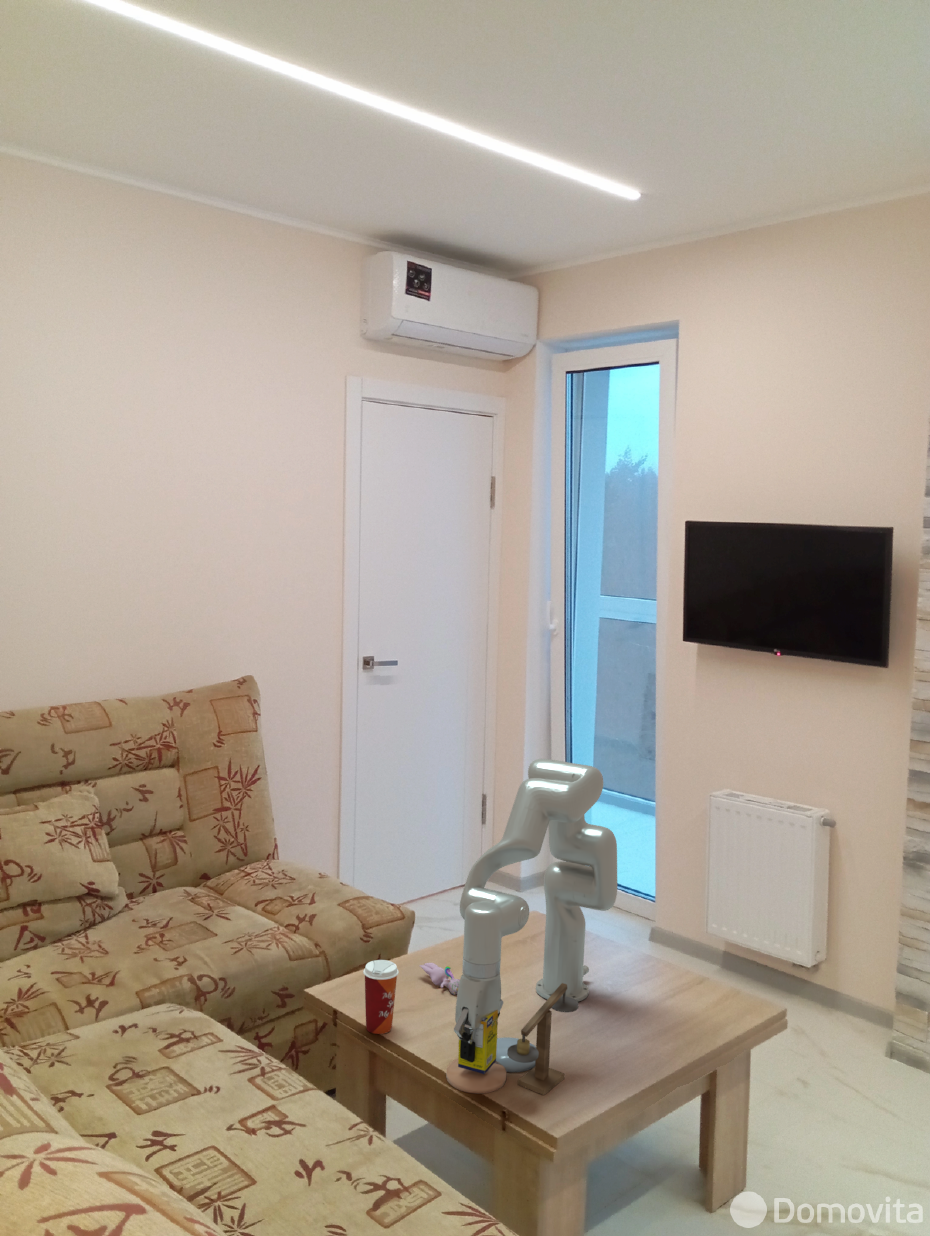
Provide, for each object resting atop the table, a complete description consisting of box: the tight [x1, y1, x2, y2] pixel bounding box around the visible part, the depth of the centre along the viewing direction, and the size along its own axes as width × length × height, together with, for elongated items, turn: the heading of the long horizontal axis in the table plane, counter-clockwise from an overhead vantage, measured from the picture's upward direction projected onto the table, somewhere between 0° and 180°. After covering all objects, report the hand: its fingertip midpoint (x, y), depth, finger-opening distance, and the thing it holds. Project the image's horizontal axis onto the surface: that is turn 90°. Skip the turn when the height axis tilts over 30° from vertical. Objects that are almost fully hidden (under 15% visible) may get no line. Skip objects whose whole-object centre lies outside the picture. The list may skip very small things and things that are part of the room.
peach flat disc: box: [445, 1058, 507, 1095], centre depth 201 cm, size 12×12×1 cm
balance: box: [507, 983, 579, 1096], centre depth 200 cm, size 21×6×18 cm, turn 145°
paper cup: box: [362, 959, 399, 1035], centre depth 219 cm, size 8×8×14 cm
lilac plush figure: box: [419, 962, 460, 996], centre depth 241 cm, size 6×6×15 cm
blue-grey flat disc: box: [496, 1036, 536, 1073], centre depth 209 cm, size 12×12×1 cm
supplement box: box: [457, 1010, 499, 1074], centre depth 200 cm, size 6×6×11 cm
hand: (477, 1051), depth 201 cm, fingers closed on supplement box, 6 cm apart
